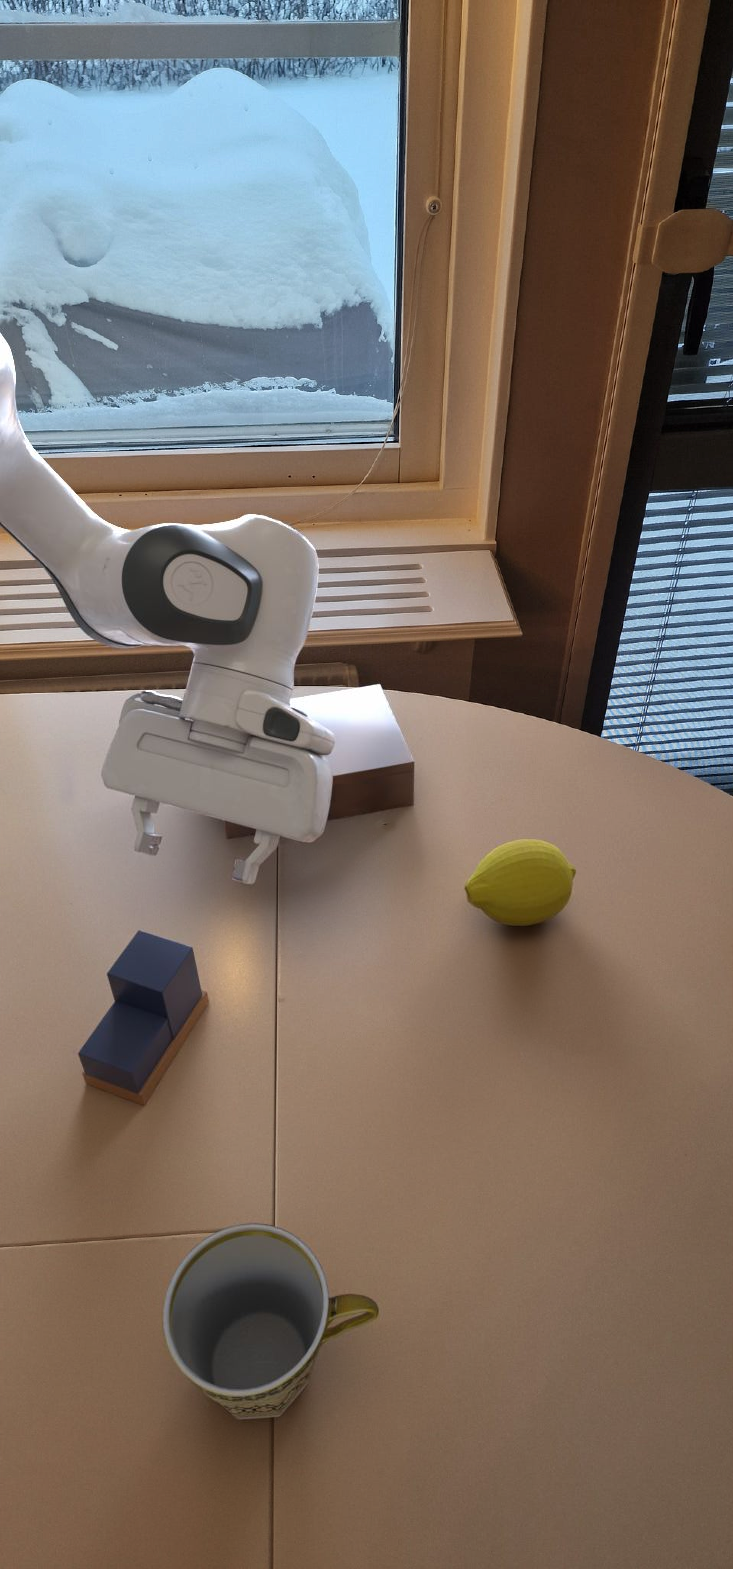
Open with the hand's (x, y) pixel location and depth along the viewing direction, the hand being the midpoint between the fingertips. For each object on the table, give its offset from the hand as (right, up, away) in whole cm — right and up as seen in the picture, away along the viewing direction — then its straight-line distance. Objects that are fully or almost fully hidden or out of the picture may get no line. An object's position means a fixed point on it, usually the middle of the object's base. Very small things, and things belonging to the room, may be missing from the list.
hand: (193, 867), depth 88 cm
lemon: (+29, -5, +10) cm, 31 cm away
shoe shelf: (+8, +8, +25) cm, 28 cm away
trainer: (-4, -15, 0) cm, 15 cm away
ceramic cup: (+9, -32, -19) cm, 38 cm away
